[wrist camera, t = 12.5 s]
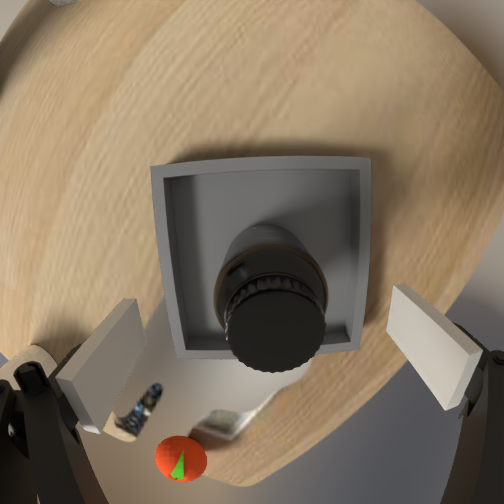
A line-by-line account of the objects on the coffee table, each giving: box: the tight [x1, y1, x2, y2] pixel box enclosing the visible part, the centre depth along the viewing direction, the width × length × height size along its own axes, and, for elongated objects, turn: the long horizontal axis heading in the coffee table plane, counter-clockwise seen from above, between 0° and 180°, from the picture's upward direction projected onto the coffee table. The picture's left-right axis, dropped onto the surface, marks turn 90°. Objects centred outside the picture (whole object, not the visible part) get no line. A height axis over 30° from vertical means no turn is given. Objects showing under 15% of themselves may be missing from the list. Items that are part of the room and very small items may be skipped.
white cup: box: [0, 345, 58, 390], centre depth 24 cm, size 8×8×10 cm
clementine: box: [155, 436, 207, 482], centre depth 28 cm, size 8×7×7 cm
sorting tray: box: [150, 156, 372, 359], centre depth 23 cm, size 17×17×3 cm
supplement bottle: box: [213, 224, 329, 373], centre depth 18 cm, size 7×7×12 cm
